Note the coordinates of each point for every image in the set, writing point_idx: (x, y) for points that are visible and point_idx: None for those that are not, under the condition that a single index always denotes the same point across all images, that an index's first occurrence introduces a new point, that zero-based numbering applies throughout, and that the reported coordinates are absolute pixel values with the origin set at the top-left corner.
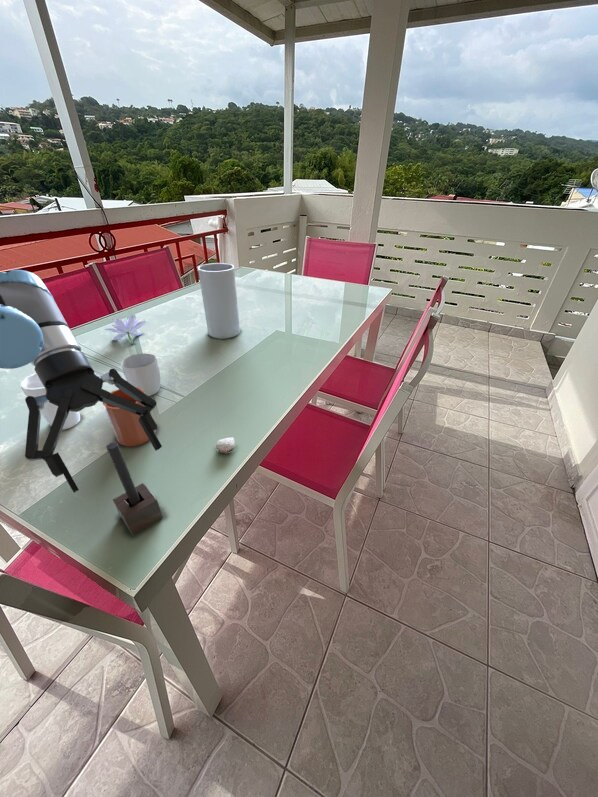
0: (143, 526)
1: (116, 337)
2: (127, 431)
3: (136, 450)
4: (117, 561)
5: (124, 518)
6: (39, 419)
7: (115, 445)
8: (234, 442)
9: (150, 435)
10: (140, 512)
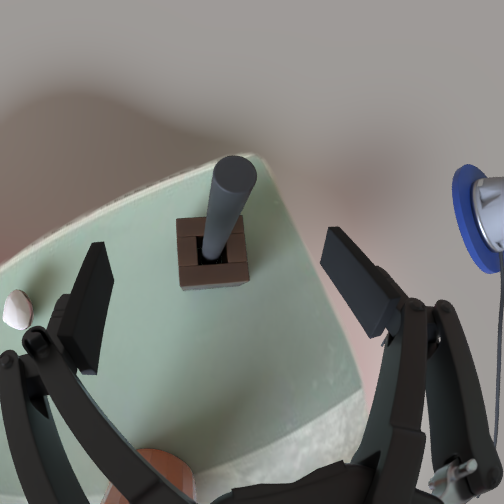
0: None
1: None
2: (168, 475)
3: (167, 439)
4: (265, 205)
5: (242, 218)
6: (445, 428)
7: (224, 164)
8: (5, 304)
9: (93, 273)
10: None
